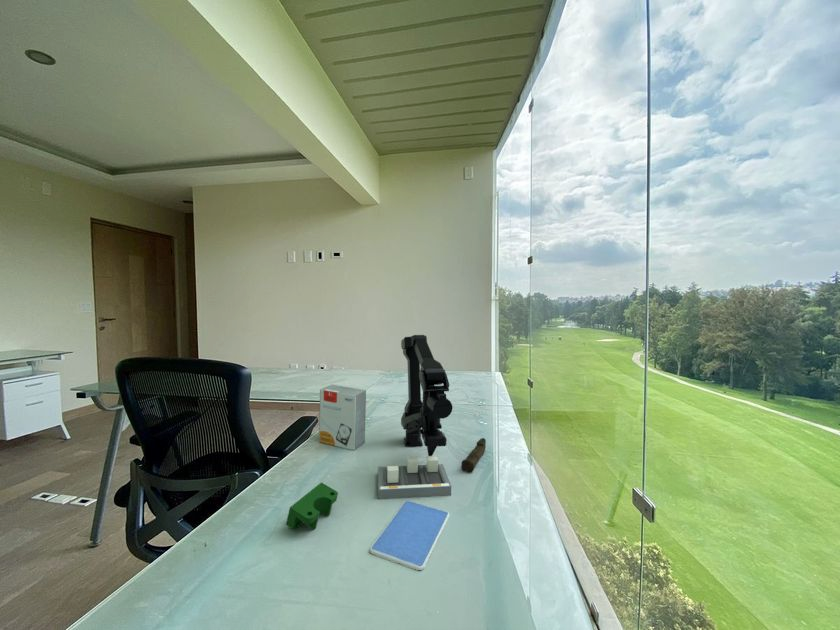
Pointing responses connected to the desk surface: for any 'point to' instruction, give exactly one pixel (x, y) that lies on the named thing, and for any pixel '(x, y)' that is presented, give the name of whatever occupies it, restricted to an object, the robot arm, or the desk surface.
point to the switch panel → (414, 483)
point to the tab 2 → (412, 465)
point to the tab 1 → (392, 474)
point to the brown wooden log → (474, 456)
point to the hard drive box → (342, 416)
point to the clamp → (312, 507)
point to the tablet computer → (411, 535)
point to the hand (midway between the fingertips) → (430, 455)
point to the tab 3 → (432, 464)
